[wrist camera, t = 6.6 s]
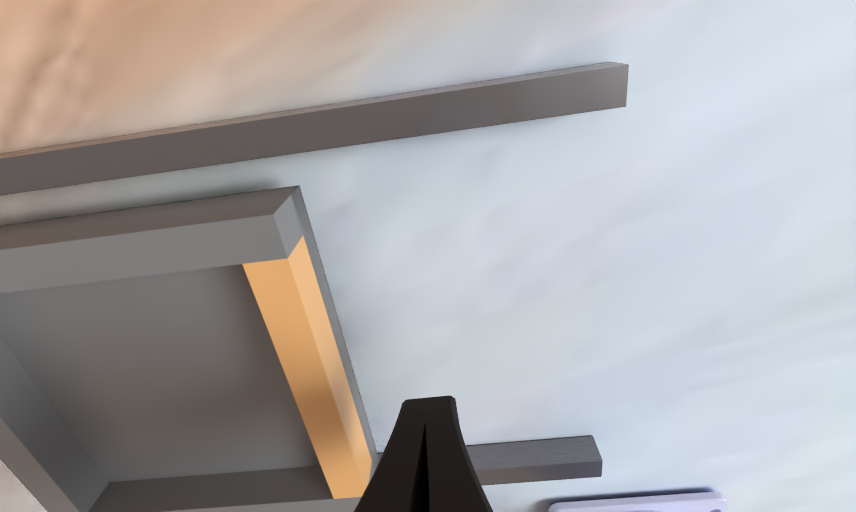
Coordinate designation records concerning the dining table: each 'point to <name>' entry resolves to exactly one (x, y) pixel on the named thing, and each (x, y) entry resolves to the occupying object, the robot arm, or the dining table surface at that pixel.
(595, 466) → the track
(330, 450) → the grey shallow tray
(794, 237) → the dining table surface
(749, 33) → the dining table surface
